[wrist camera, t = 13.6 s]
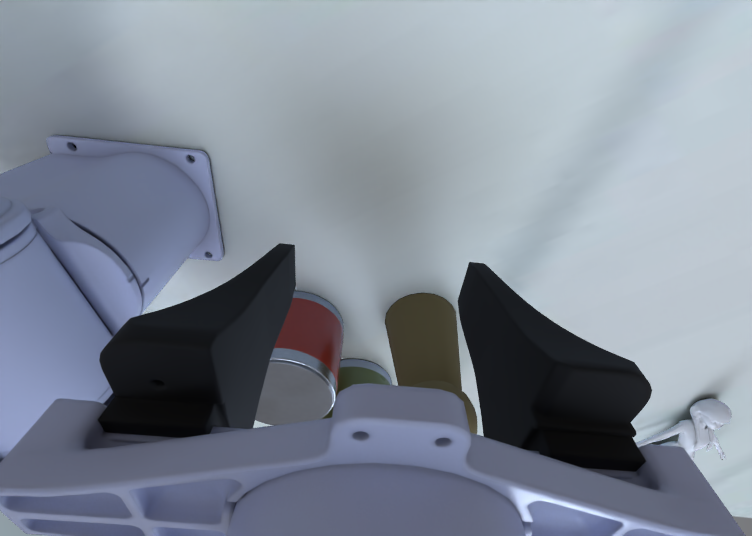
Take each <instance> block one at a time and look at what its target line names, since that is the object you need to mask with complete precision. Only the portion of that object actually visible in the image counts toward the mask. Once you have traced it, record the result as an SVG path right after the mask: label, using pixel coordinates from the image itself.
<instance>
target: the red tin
mask: <svg viewBox="0 0 752 536" xmlns="http://www.w3.org/2000/svg"><path fill="white" fill-rule="evenodd" d="M343 329H344V326H343V321H342V318H341V316H340V314H339V312H338V311H337V309H336V308H335V307H334V306H333V305H332V304H331V303H329V302H328V301H326V300H325V299H323V298H321V297H319V296H317V295H314V294H311V293H307V292H300V291H294V294H293V299H292V302H291V306H290V309H289V311H288V314H287V316H286V319H285V322H284V324H283V327H282V329H281V332H280V334H279V337H278V339H277V342H276V344H275V347H274V349H273V352H272V355H271V358H270V362H269V365H268V369H267V373H266V376H265V380H264V384H263V388H262V392H261V396H260V400H259V404H258V408H257V413H256V417H255V420H257V421H259V422H262V423H266V424H269V425H282V424H289V423H297V422H304V421H312V420H319V419H321V418H323V417H324V416H325V415H326V414H327V413H328V412H329V411H330V410H331V409H332V407H333V405H334V401H335V399H336V392H337V388H338V379H339V370H340V361H341V353H342V344H343Z"/></svg>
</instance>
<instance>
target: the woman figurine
mask: <svg viewBox="0 0 752 536" xmlns="http://www.w3.org/2000/svg"><path fill="white" fill-rule="evenodd" d="M690 413H691V417H692V419H693V420H683V421H679V424H677V425H675V426H673V427H672V428H670V429H668V430H666V431H663V432H661V433H659V434H656V435H653V436H652V437H649V438H647V439H644V440H642V441H639V442H637V443H636V445H637V447H640V446H643V445H646V444H649V443H652V442H656V441H660V440H664V439H666V438H669V437H671V436H673V435H676V434H679V438H678V441H671V442H666V443H663V444H659V445H666V446H678V447H682V448H684V449H685V450H686V452H687V453H688V455H689V456H690V457H691V459H692V460H694V457H695V451H697V450H699V449H702V448H703V447H705V446H707V445H708V447H707V450H706V452H707V451H709V450H711V449H712V444H714V445H715V447H716V448H717V450H718V452H719V453H718V454H720V457H721V459H722V460H723V457H724V458H725V459H726V457H725V454H724V452H723V451H722V449H721V447H720V444H719V441H718V439H717V437H716V435H715V434H714V430H718V429H720V427H722V426H723V425H724V424H730V420H731V417H732V416H731V415H732V414H731V410H730V408H729V407H728V406H727V405H726V404H725V403H723V402H721V401H719V400H716V399H712V398H710V399H705V400H700V401H698V402H696V403H695V404H693V406H692V407H691V408H690ZM710 441H711V443H710ZM709 443H710V445H709Z"/></svg>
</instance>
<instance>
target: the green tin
mask: <svg viewBox="0 0 752 536" xmlns="http://www.w3.org/2000/svg"><path fill="white" fill-rule="evenodd" d="M366 383H371V384H383V385H392V382H391V378H390V376H389V375H388V373H387V372H386V371H385V370H384V369H383V368H381V367H380V366H378V365H376V364H374V363H372V362H369V361H365V360H359V359H346V360H341V361H340V370H339V379H338V388H337V392H336V397H337V395H338V393H339V392H340V391H342V390H344V389H346V388H348V387H350V386H352V385H354V384H366ZM333 407H334V405H333ZM333 407H332V409H331V410H330V411H329V412H328V413H327V414H326V415H325V416H324V417H323V418H321V419H327V418H332V415H333Z"/></svg>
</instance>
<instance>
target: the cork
mask: <svg viewBox="0 0 752 536" xmlns="http://www.w3.org/2000/svg"><path fill="white" fill-rule="evenodd" d="M385 325H386V329H387V334H388V339H389V344H390V348H391V353H392V358H393V363H394V367H395V372H396V377H397V382H398V386H407V387H419V388H431V389H440V390H444V391H448V392H451V393H454V394H456V395H457V396H458V397H459V398H460V399H461V400H462V401H463V402H464V406H465V410H466V415H467V420H468V424H469V429H470V432H471V433H474V434H477V416H476V412H475V408H474V407H473V405H472V403H471V401H470V400H469V398H468V397H467V395H466V394H465V393H464V392H462V387H461V374H460V361H459V347H458V334H457V321H456V312H455V310H454V308H453V306H452V304H450V303H449V302H448V301H447V300H446V299H444V298H442V297H440V296H437V295H435V294H427V293H418V294H411V295H408V296H406V297H403V298H401V299H399V300H398V301H397V302H395V303H394V304H393V305H392V306H391V307H390V309H389V310H388V312H387V313H386V319H385Z"/></svg>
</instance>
